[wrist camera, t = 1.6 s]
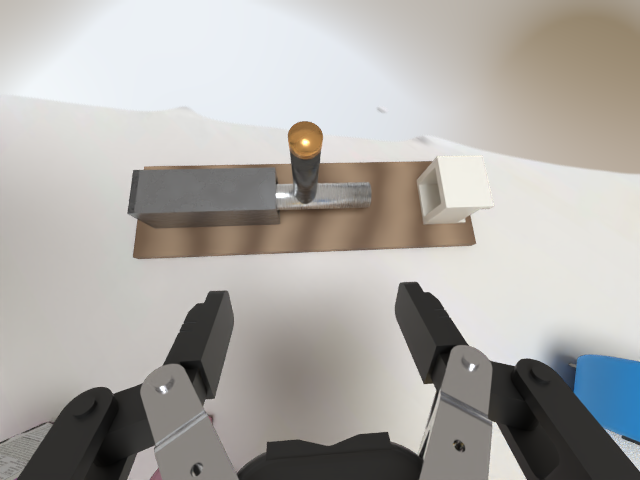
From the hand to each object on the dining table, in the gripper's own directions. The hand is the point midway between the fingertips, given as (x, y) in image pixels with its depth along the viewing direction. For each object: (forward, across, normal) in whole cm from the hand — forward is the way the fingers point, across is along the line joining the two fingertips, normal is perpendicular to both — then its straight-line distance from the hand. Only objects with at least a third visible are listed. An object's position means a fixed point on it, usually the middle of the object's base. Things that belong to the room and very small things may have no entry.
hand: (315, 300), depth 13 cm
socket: (+20, -16, +4) cm, 26 cm away
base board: (+21, 0, +4) cm, 21 cm away
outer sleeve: (+20, +10, +4) cm, 23 cm away
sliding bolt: (+19, +4, +3) cm, 20 cm away
